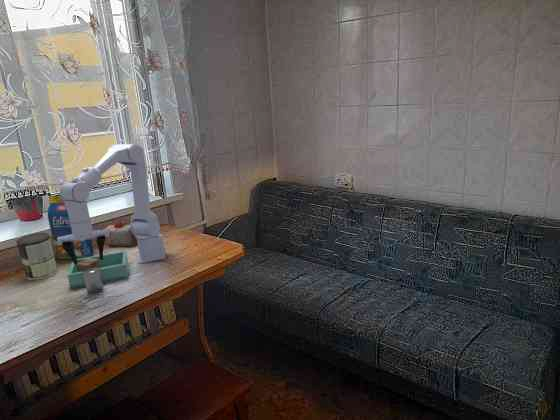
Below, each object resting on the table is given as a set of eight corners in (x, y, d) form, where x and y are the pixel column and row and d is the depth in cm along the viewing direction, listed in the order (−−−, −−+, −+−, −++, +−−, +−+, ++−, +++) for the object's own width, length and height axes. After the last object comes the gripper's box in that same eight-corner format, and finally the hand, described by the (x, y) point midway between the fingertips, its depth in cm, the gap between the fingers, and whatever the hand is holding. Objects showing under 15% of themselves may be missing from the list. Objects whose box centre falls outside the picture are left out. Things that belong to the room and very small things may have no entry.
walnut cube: (90, 271, 149) (87, 258, 148) (101, 272, 147) (98, 259, 146) (79, 277, 145) (76, 264, 143) (90, 278, 143) (87, 265, 141)
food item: (104, 247, 175) (99, 225, 172) (115, 240, 182) (111, 218, 179) (133, 248, 171) (129, 225, 168) (143, 241, 179) (139, 219, 176)
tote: (128, 263, 156) (126, 250, 155) (127, 278, 144) (125, 264, 142) (76, 272, 151) (73, 259, 150) (70, 289, 138) (67, 275, 137)
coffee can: (19, 280, 148) (9, 243, 144) (36, 268, 157) (27, 233, 153) (47, 279, 147) (38, 242, 143) (63, 267, 157) (54, 231, 153)
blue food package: (68, 253, 170) (54, 194, 163) (94, 254, 168) (81, 193, 161) (57, 259, 164) (42, 198, 157) (84, 260, 162) (70, 198, 155)
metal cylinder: (104, 285, 139) (100, 266, 137) (103, 292, 135) (99, 272, 133) (88, 288, 138) (83, 269, 136) (86, 295, 133) (81, 275, 131)
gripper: (52, 228, 123) (62, 270, 127) (104, 220, 128) (112, 261, 132) (56, 221, 130) (65, 261, 134) (105, 214, 134) (113, 253, 138)
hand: (89, 261), depth 133 cm, fingers open, 7 cm apart
